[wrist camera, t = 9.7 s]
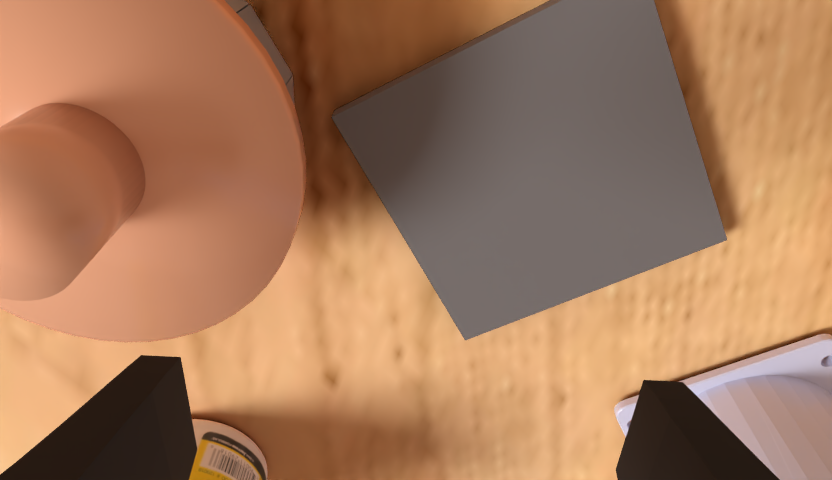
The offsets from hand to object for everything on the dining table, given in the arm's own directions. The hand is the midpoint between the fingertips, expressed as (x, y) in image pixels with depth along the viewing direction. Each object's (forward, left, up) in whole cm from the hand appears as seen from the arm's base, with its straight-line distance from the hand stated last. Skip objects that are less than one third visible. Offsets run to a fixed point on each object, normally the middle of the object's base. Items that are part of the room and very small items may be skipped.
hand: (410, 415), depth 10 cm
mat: (-2, -3, -10) cm, 11 cm away
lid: (+5, +6, -6) cm, 10 cm away
